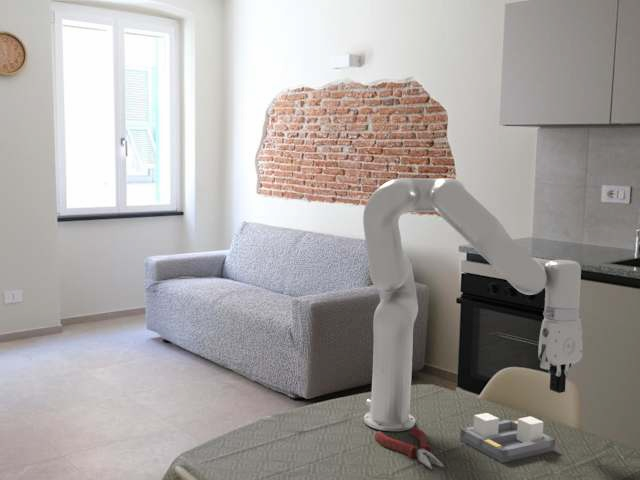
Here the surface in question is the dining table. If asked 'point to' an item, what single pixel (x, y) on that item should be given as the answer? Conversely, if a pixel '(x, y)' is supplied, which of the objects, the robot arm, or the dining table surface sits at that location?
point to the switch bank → (507, 443)
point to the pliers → (411, 447)
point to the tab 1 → (485, 425)
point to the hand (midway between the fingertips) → (557, 390)
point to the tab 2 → (529, 429)
